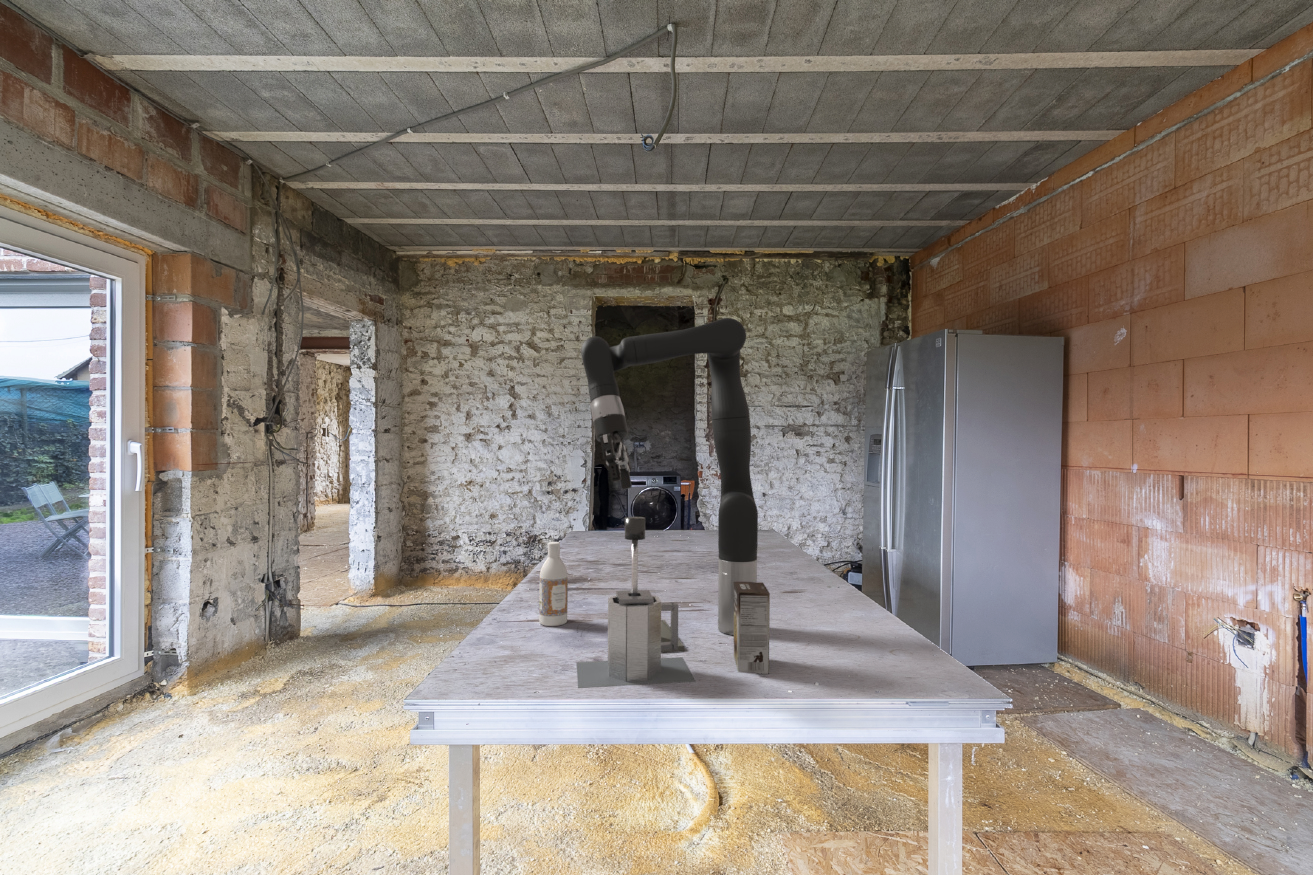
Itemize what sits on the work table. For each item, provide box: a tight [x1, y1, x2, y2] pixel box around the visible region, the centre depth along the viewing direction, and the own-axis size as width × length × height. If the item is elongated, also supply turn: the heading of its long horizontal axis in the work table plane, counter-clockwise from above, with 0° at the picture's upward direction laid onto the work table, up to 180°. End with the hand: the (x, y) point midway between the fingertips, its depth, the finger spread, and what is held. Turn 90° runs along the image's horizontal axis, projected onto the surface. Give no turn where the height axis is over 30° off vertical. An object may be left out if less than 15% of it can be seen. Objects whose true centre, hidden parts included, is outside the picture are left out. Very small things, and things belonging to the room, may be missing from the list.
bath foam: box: [538, 541, 569, 627], centre depth 152 cm, size 7×7×20 cm
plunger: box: [624, 516, 646, 606], centre depth 119 cm, size 7×7×21 cm
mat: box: [576, 656, 697, 689], centre depth 119 cm, size 22×13×1 cm, turn 99°
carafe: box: [607, 589, 679, 682], centre depth 120 cm, size 14×10×15 cm
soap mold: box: [661, 619, 686, 654], centre depth 140 cm, size 10×20×4 cm, turn 11°
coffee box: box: [733, 581, 771, 675], centre depth 124 cm, size 9×6×16 cm
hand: (622, 485), depth 137 cm, fingers open, 8 cm apart
